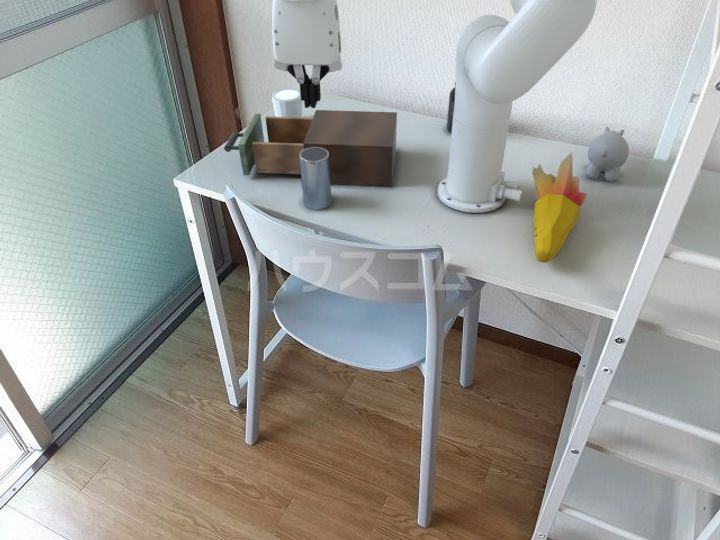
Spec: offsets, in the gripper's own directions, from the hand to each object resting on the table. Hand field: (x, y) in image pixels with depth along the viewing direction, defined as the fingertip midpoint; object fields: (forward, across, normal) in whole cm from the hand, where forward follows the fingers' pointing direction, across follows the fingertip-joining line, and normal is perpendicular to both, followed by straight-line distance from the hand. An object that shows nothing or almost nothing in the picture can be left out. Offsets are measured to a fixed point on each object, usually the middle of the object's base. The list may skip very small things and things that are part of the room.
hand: (311, 104), depth 95 cm
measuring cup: (+19, 0, 0) cm, 19 cm away
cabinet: (+19, -5, -14) cm, 24 cm away
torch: (+19, -41, +5) cm, 45 cm away
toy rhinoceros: (+19, -55, -16) cm, 60 cm away
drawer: (+18, +10, -14) cm, 25 cm away
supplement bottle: (+19, -28, -32) cm, 46 cm away
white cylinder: (+19, +12, -32) cm, 39 cm away
